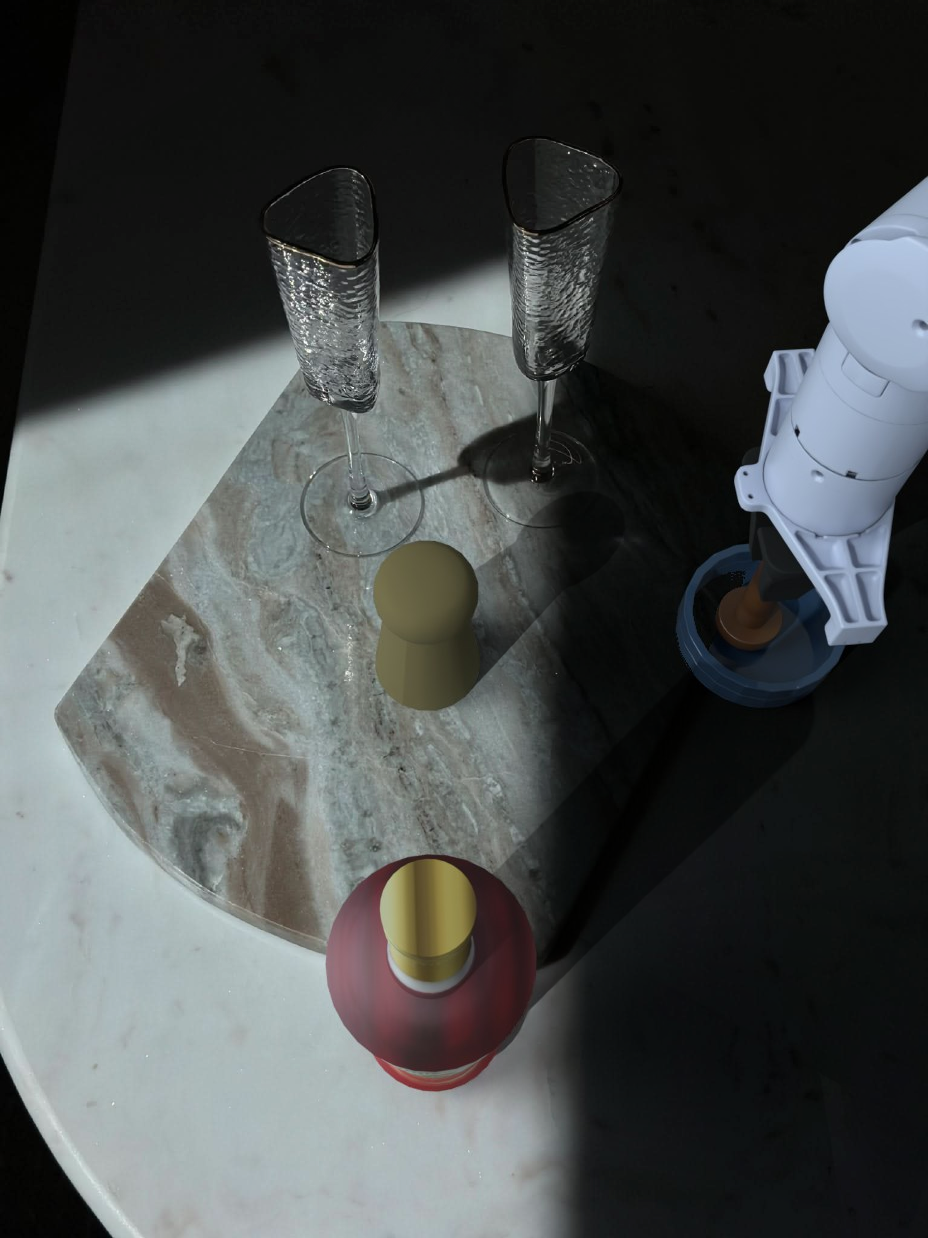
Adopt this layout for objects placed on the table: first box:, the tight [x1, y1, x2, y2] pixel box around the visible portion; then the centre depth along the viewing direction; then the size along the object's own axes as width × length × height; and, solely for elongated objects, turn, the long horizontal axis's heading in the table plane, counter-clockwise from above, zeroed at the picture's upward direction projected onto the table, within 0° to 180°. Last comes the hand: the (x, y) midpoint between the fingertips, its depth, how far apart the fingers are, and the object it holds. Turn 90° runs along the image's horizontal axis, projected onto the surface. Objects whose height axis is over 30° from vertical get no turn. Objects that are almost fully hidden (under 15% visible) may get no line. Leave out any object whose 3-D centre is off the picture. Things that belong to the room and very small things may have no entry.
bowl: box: [675, 543, 847, 709], centre depth 65 cm, size 9×9×3 cm
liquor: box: [325, 853, 537, 1093], centre depth 44 cm, size 7×7×28 cm
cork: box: [372, 539, 481, 712], centre depth 60 cm, size 6×6×11 cm
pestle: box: [715, 558, 783, 651], centre depth 61 cm, size 4×4×10 cm
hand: (773, 573), depth 60 cm, fingers closed on pestle, 2 cm apart
